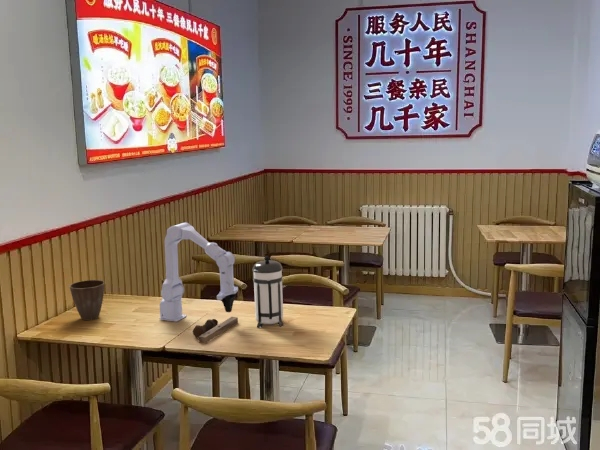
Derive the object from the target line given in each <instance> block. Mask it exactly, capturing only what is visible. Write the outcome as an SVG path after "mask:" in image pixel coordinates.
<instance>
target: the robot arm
mask: <svg viewBox="0 0 600 450" xmlns="http://www.w3.org/2000/svg"><path fill="white" fill-rule="evenodd" d="M182 240H191V242H193V243H195V244H196V245H198V246H200V247H201V248H202V249H203V250H204V253H205V254H206V255H207V256H208V257H210V259H212V260H213V261H215V263H216V265H217V267H218V271H219V281H220V284H219V285H220V291H219V293H218V294H217V295H216V300H217V301H221V303H222V305H223V308H224V310H225V313H231V312H232V310H233V306H234V301H235V299H236V294H237V292H239V287H238V286H235V280H234V264H235V262H236V257H235V255H234V254H233V253H232V252H231V251H226V250H225V249H223V248H222V247H220V246H219V245H218V243H216V242H214V241H213V242H209V241H208V240H207V239H206V238H205V237H204V236H202V235H201V234H200V233H199V231H197V230H196V229H195V228H194V226H193V225H191V224H190V223H188V222H182V223H179V224H176V225H171V226H170V227H169V228H167V229H166V235H165V238H164V258H165V260H164V261H165V263H164V264H165V279H164V281H163V283H162V288H161V291H160V295H161V298H162V299H161V300H160V302H159V313H160V314H159V315H160V318H159V320H161V321H162V320H163V321H167V322H168V321H169V322H170V321H171V322H179V321H181V320H182V319H185V318H186V317H187V314H183V306H182V305H183V303H182V302H183V301H182V298H183V295H184V293H185V287H184V285H183V280H182V279H181V278H180V276H179V275H180V273H179V255H178V254H179V252H178V251H179V250H178V244H179V243H180V242H181V241H182Z"/></svg>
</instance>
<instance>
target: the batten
mask: <svg viewBox="0 0 600 450" xmlns="http://www.w3.org/2000/svg"><path fill="white" fill-rule="evenodd" d="M238 319H239V318H238V316H237V317H236V316H230V317H229V318H227V319H225V320H223V321H222V322H220V323H218V325H217V326H215V327H214V328H212V329H210V330H209V331H207V332H205V333H204V334H202V335H201V336H199V338H198V343H199V344H207V343H208V342H211V341H212V340H213V339H215V338H216V337H218V336H219V335H221V334H223V333H224V332H226V331H227V330H228V329H231V328H232V327H233V326H235V325H237V324H238V322H239V320H238Z"/></svg>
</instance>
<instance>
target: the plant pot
mask: <svg viewBox="0 0 600 450" xmlns="http://www.w3.org/2000/svg"><path fill="white" fill-rule="evenodd" d="M69 291H70V293H71V297H72V300H73V303H74V305H75V308H76V311H77V312H78V315H79V316H80V319H81V320H83V321H91V320H92V321H93V320H97V319H98V318H99V317H100V314H101V312H102V311H101V310H102V306H103V301H104V292H105V281H104V280H99V279H89V280H81V281H76V282H73V283H71V284H70V285H69Z"/></svg>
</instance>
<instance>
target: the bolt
mask: <svg viewBox="0 0 600 450" xmlns="http://www.w3.org/2000/svg"><path fill="white" fill-rule="evenodd" d="M217 325H219V321H218V320H217V319H216V318H212V319H211V318H210V319H207V320H206V321H205V323H204V324H203V325H199V324H198V325H197V324H196V325H195V326H194V327H193V329H192V334H193V336H194V337H195V339H199V336H201V335H202V334H204V333H205V332H207V331H209V330H210V329H212V328H214V327H215V326H217Z"/></svg>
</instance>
